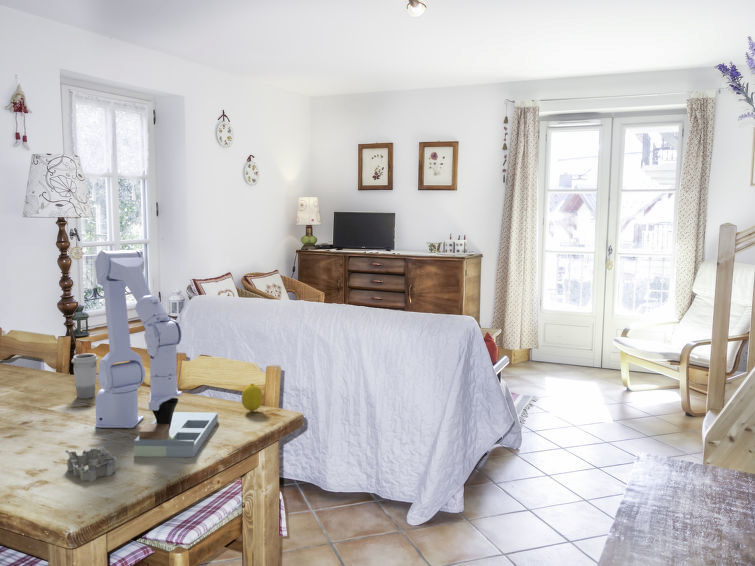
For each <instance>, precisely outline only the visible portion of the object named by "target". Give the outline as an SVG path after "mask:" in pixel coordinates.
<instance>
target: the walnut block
mask: <svg viewBox="0 0 755 566" xmlns="http://www.w3.org/2000/svg"><path fill="white" fill-rule="evenodd" d="M138 433H139V435H138V436H139V439H159V440H167V439H168V437H169V424H151V423H146V424H145V425H144V426H143V427H142V428H141V429H139V431H138Z"/></svg>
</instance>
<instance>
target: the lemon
mask: <svg viewBox="0 0 755 566" xmlns="http://www.w3.org/2000/svg"><path fill="white" fill-rule="evenodd" d="M241 403H242V406H243V407H244V408H245V410H247V411H250V412H251V413H254V412H255V411H256V410H258V409H259V408H260V406H261V405H262V403H263V392H262V390H261V387H259V385H256V384H254V383H250V384H248V385H247V386H245V387H244V389H243V391H242V394H241Z"/></svg>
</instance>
